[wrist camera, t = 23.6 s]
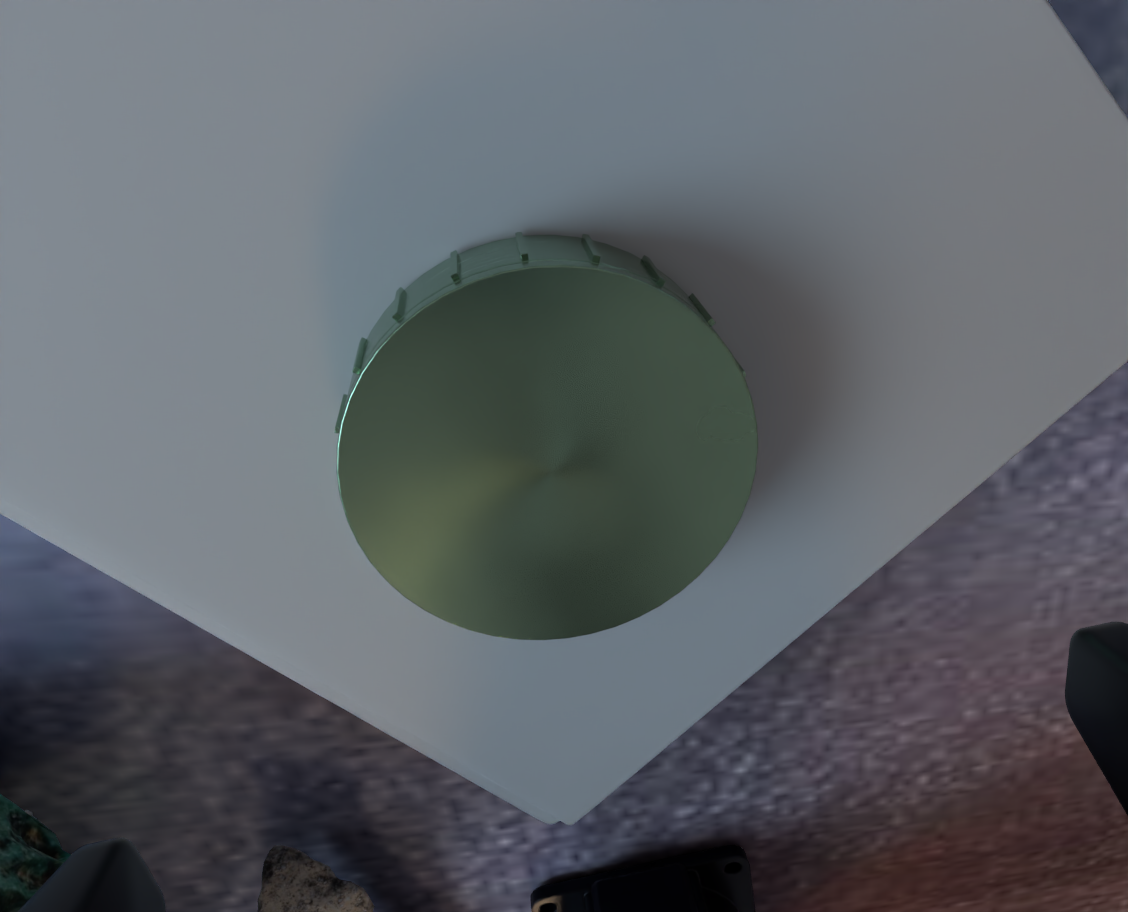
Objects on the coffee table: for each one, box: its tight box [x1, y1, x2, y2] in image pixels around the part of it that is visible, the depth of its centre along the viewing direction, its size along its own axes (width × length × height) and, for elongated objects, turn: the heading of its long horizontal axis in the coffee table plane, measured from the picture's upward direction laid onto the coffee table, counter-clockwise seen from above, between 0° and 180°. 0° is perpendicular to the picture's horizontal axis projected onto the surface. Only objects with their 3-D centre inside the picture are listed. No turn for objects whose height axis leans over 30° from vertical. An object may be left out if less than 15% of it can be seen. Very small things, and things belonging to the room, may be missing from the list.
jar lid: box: [334, 232, 758, 640], centre depth 15 cm, size 7×7×2 cm
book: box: [0, 0, 1128, 825], centre depth 16 cm, size 18×4×24 cm
